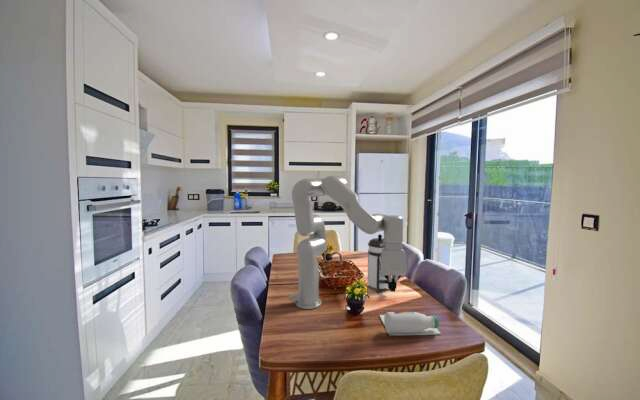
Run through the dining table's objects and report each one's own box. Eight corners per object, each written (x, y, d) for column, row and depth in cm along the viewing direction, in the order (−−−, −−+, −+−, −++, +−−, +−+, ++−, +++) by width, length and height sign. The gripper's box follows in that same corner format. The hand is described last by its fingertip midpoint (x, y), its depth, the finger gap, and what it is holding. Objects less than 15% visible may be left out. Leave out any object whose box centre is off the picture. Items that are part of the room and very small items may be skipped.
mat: (389, 335, 112) (389, 334, 112) (379, 316, 128) (379, 315, 127) (440, 334, 112) (440, 333, 112) (424, 315, 128) (424, 314, 128)
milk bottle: (387, 338, 111) (437, 337, 113) (391, 324, 107) (443, 323, 109) (382, 320, 118) (429, 320, 120) (385, 307, 114) (434, 307, 116)
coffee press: (362, 291, 156) (362, 236, 154) (368, 281, 170) (369, 231, 168) (395, 296, 149) (396, 238, 147) (399, 286, 164) (400, 233, 162)
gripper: (376, 248, 113) (376, 294, 115) (414, 248, 114) (413, 293, 115) (372, 244, 121) (371, 287, 122) (408, 243, 122) (407, 286, 123)
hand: (392, 290), depth 119 cm, fingers closed
